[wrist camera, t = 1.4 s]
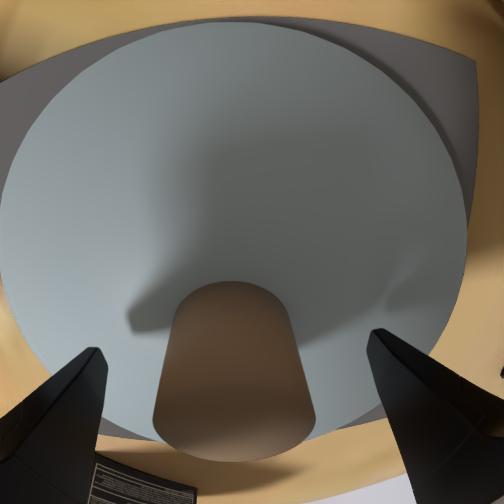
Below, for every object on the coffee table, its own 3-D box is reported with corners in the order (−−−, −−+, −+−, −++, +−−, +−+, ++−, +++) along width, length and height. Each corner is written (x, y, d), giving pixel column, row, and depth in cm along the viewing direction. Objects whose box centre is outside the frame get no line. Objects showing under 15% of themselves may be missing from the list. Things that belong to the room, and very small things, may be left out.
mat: (469, 61, 7) (475, 61, 7) (396, 409, 16) (398, 413, 15) (-22, 99, 6) (-28, 100, 6) (97, 429, 15) (96, 433, 14)
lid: (468, 69, 7) (568, 72, 3) (394, 411, 15) (421, 472, 11) (-21, 107, 6) (-113, 126, 2) (99, 430, 14) (83, 493, 10)
